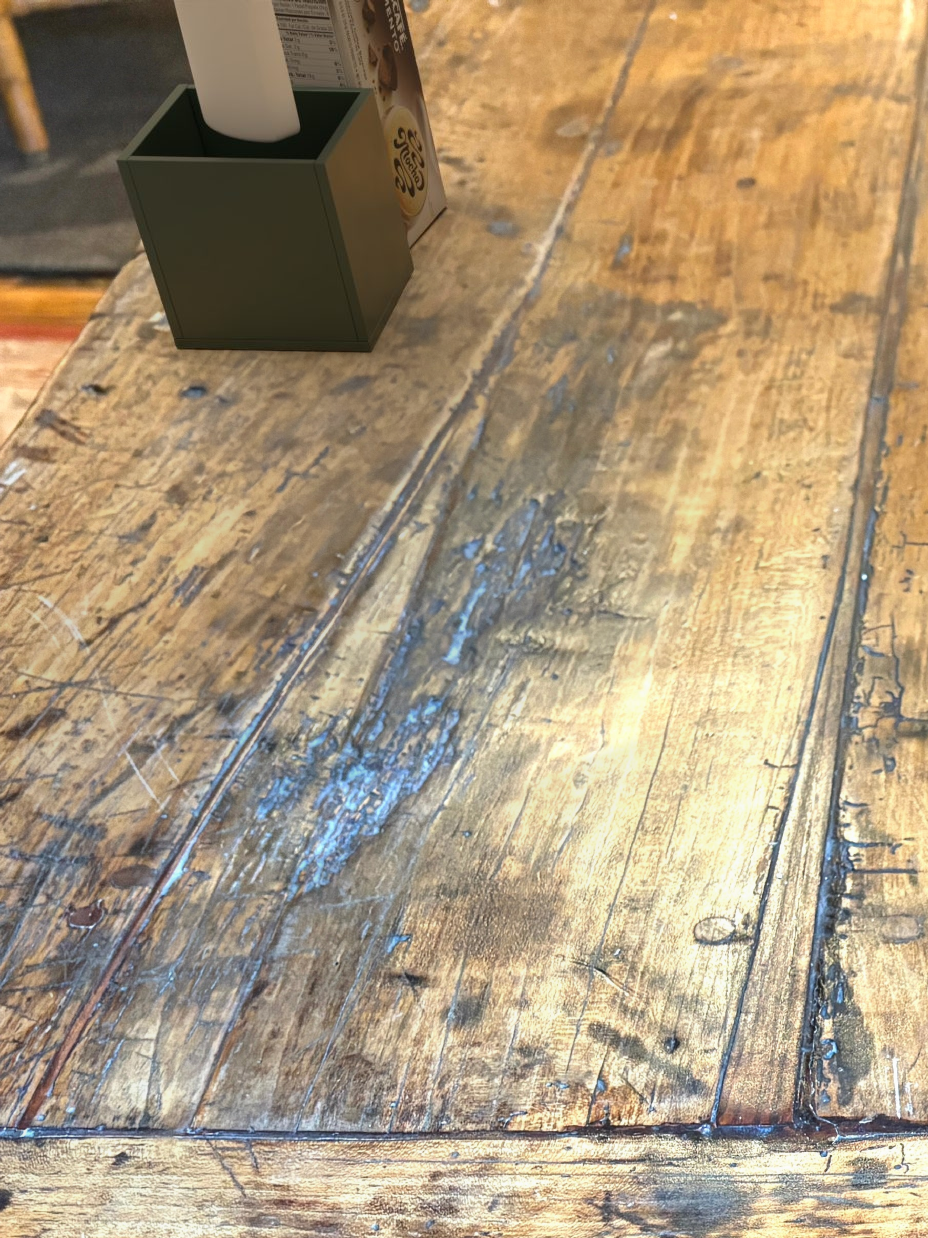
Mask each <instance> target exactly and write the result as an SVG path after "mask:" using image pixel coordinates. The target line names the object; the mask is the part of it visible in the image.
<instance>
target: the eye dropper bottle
mask: <svg viewBox="0 0 928 1238" xmlns="http://www.w3.org/2000/svg"><path fill="white" fill-rule="evenodd" d="M173 3H174V7H175V12H176V15H177V19H178V24H179V27H180V31H181V35H182V39H183V43H184V47H185V52H186V55H187V60H188V64H189V66H190V71H191V76H192V79H193V82H194V83H193V84H195V87H196V91H197V95H198V99H199V103H200V106H201V110H202V114H203V118H204V120H205V122H206V124H207V125H208V126H209V127H210V128H212V129H213V130H215V131H217V132H219V133H221V134H223V135H226V136H229V137H232V138H236V139H241V140H246V141H253V142H265V143H271V142H277V141H280V140H283V139H285V138H288V137H291V136H293V135H295V134H297V133H298V132H299V131H300V123H299V118H298V114H297V109H296V105H295V100H294V96H293V92H292V87H291V83H290V78H289V74H288V69H287V65H286V61H285V56H284V52H283V47H282V43H281V39H280V34H279V30H278V26H277V21H276V17H275V13H274V9H273V5H272V1H271V0H173Z"/></svg>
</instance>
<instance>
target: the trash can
mask: <svg viewBox="0 0 928 1238" xmlns="http://www.w3.org/2000/svg"><path fill="white" fill-rule="evenodd" d="M291 87H292V92H293V96H294V100H295V105H296V109H297V114H298V118H299V123H300V131H299V132H298V133H297V134H295V135H293V136H291V137H288V138H285V139H283V140H280V141H277V142H271V143H265V142H253V141H246V140H241V139H236V138H232V137H229V136H226V135H223V134H221V133H219V132H217V131H215V130H213V129H212V128H210V127H209V126H208V125H207V124H206V122H205V120H204V118H203V114H202V110H201V106H200V103H199V99H198V95H197V91H196V87H195V83H193V84H192V83H191V84H188V83H179V84H177V86H176V87H175V88H174V90H172V91H171V93H170V94H169V95H168V97H167V98H166V99H165V100H164V102H162V104H161V105H160V106H159V107H158V109H157V110H156V111H155V112H154V114H152V116H151V117H150V118H149V120H147V122H146V123H145V124H144V125H143V127H142V128H141V129H140V130H139V132H138V133H137V134H136V135H135V136H134V137H133V139H132V140H131V141H130V142H129V144H128V145H127V146H126V147H125V148H124V149H123V151H122V152H121V153H120V154H119V156H117V158H116V159H115V162H116V165H117V168H118V171H119V174H120V177H121V180H122V183H123V186H124V189H125V193H126V196H127V199H128V202H129V205H130V208H131V211H132V213H133V217H134V221H135V224H136V227H137V230H138V233H139V236H140V239H141V242H142V245H143V249H144V252H145V255H146V259H147V261H148V264H149V267H150V270H151V273H152V276H153V279H154V283H155V286H156V288H157V291H158V292H157V293H158V295H159V299H160V302H161V304H162V308H163V310H164V313H165V316H166V320H167V323H168V326H169V329H170V332H171V335H172V338H173V341H174V345H175V347H176V349H193V350H195V349H197V350H202V349H203V350H251V351H252V350H257V351H259V350H261V351H309V352H312V351H313V352H315V351H316V352H322V351H323V352H364V353H365V352H366V353H367V352H372V351H373V349H374V347H375V345H376V343H377V341H378V339H379V337H380V335H381V333H382V331H383V329H384V328H385V326H386V324H387V322H388V319H389V317H390V316H391V314H392V312H393V310H394V308H395V307H396V304H397V302H398V300H399V298H400V297H401V294H402V293H403V291H404V289H405V287H406V285H407V283H408V281H409V279H410V277H411V276H412V273H413V271H414V269H415V267H414V263H413V257H412V253H411V247H410V248H409V244H408V239H407V235H406V231H405V226H404V222H403V217H402V213H401V208H400V204H399V200H398V195H397V191H396V186H395V182H394V177H393V173H392V169H391V164H390V160H389V155H388V151H387V146H386V142H385V138H384V133H383V129H382V124H381V120H380V115H379V111H378V106H377V102H376V98H375V93H374V89H373V88H340V87H293V86H291Z"/></svg>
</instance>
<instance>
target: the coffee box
mask: <svg viewBox="0 0 928 1238" xmlns="http://www.w3.org/2000/svg"><path fill="white" fill-rule="evenodd" d="M271 1H272V5H273V9H274V13H275V17H276V21H277V26H278V30H279V34H280V39H281V43H282V47H283V52H284V56H285V61H286V65H287V69H288V74H289V78H290V83H291V86H293V87H340V88H373V89H374V93H375V98H376V102H377V106H378V111H379V115H380V120H381V124H382V129H383V133H384V138H385V142H386V146H387V151H388V155H389V160H390V164H391V169H392V173H393V177H394V182H395V186H396V191H397V195H398V200H399V204H400V208H401V213H402V217H403V222H404V226H405V231H406V235H407V239H408V244H409V248H410V249H411V247H412V245H413V244H415V242H416V241H417V240H418V239H419V237H421V235H422V234H423V233H424V232H425V231H426V229H428V227H429V226H430V225H431V224H432V223H433V221H434V220H435V219H436V218H437V217H438V215H439V214H441V212H442V211H443V210H444V209H445V208H446V206H447V205H448V200H447V195H446V191H445V187H444V183H443V179H442V173H441V169H440V165H439V160H438V155H437V151H436V147H435V141H434V137H433V132H432V128H431V123H430V119H429V115H428V109H427V105H426V100H425V96H424V92H423V86H422V81H421V76H420V72H419V67H418V63H417V58H416V55H415V53H416V52H415V48H414V45H413V39H412V35H411V32H410V31H411V30H410V26H409V20H408V17H407V13H406V12H407V11H406V7H405V3H404V0H271Z"/></svg>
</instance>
